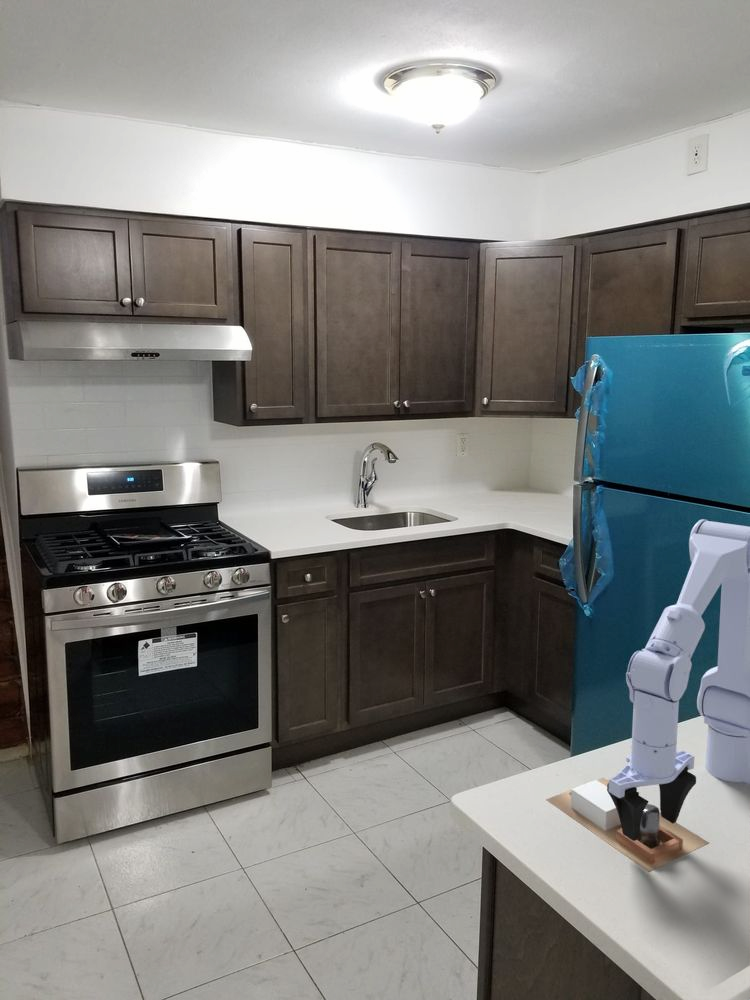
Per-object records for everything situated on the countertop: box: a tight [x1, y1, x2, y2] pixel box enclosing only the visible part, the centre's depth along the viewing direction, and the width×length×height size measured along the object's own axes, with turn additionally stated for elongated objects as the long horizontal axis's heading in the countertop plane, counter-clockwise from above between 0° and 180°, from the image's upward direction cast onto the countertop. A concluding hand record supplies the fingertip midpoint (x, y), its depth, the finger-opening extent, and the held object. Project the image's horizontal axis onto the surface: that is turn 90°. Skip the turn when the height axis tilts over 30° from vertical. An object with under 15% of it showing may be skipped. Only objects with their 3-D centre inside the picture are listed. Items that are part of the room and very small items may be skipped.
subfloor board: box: [546, 777, 710, 873], centre depth 117 cm, size 12×20×2 cm, turn 30°
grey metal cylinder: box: [637, 803, 660, 849], centre depth 111 cm, size 3×3×5 cm
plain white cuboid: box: [570, 779, 621, 831], centre depth 118 cm, size 5×7×3 cm
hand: (649, 827), depth 110 cm, fingers open, 7 cm apart
